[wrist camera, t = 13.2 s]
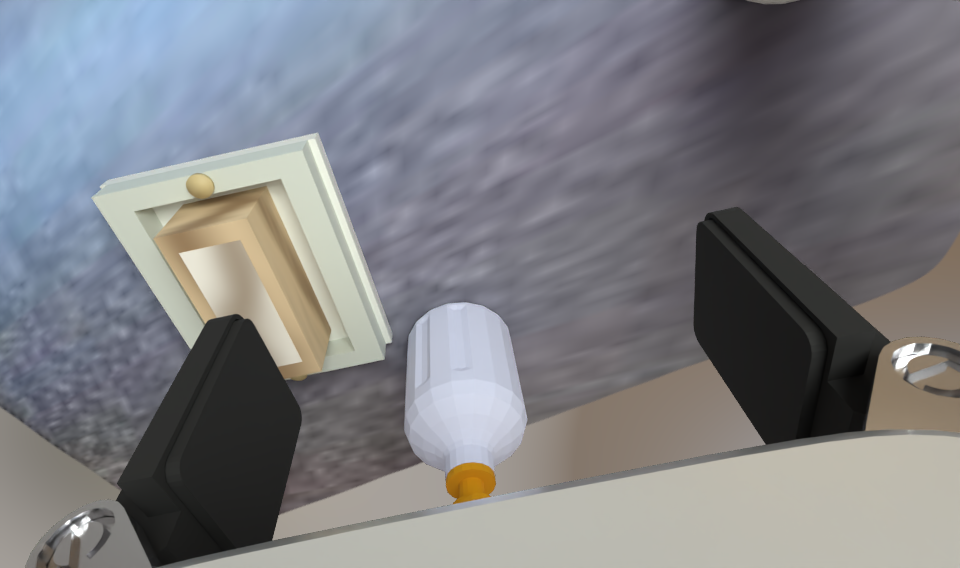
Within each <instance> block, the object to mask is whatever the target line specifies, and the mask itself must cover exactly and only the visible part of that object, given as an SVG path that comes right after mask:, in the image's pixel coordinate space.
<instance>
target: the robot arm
mask: <svg viewBox="0 0 960 568" xmlns="http://www.w3.org/2000/svg"><path fill="white" fill-rule="evenodd" d="M747 1H750V2H756V3H761V4H785V3H789V2H794V1H798V0H747ZM954 1H960V0H954ZM694 331H695V335H696V338H697V340H698V342H699V344H700V345H701V347H702V348H703V350H704V351H705V353H706V354H707V356H708V357H709V359H710V360H711V362H712V363H713V365H714V366H715V368H716V369H717V371H718V373H719V374H720V376H721V377H722V379H723V380H724V382H725V383H726V385H727V386H728V388H729V389H730V391H731V392H732V394H733V395H734V397H735V398H736V400H737V401H738V403H739V404H740V406H741V408H742V409H743V411H744V412H745V413H746V415H747V417H748V418H749V420H750V421H751V423H752V424H753V426H754V427H755V429H756V430H757V432H758V433H759V435H760V436H761V438H762V439H763V441H764V442H765V444H766V445H763V446H757V447H752V448H745V449H740V450H734V451H728V452H722V453H717V454H711V455H706V456H701V457H695V458H690V459H685V460H679V461H674V462H669V463H664V464H659V465H653V466H648V467H643V468H638V469H632V470H627V471H622V472H617V473H611V474H606V475H601V476H596V477H591V478H586V479H580V480H575V481H570V482H564V483H560V484H554V485H549V486H544V487H539V488H534V489H529V490H524V491H518V492H513V493H508V494H503V495H498V496H493V497H488V498H483V499H478V500H473V501H468V502H463V503H457V504H452V505H447V506H442V507H437V508H432V509H427V510H422V511H417V512H412V513H407V514H402V515H397V516H392V517H387V518H382V519H377V520H372V521H367V522H363V523H358V524H353V525H348V526H343V527H338V528H333V529H328V530H323V531H318V532H313V533H308V534H303V535H299V536H293V537H288V538H283V539H278V540H274V541H272V538H273V535H274V531H275V527H276V523H277V518H278V515H279V511H280V507H281V503H282V499H283V495H284V491H285V487H286V483H287V479H288V475H289V471H290V467H291V463H292V459H293V455H294V451H295V447H296V443H297V438H298V434H299V430H300V426H301V421H302V416H301V411H300V407H299V405H298V403H297V402H296V400H295V398H294V396H293V394H292V392H291V391H290V389H289V387H288V385H287V383H286V381H285V380H284V378H283V376H282V374H281V372H280V371H279V369H278V367H277V365H276V363H275V361H274V360H273V358H272V356H271V354H270V352H269V350H268V349H267V347H266V345H265V343H264V341H263V340H262V338H261V336H260V334H259V332H258V330H257V329H256V327H255V325H254V323H253V322H252V321H251V320H250V319H244V318H243V317H242V316H241V315H239V314H233V315H228V316H223V317H219V318H214V319H210V320H208V321H207V322H206V324H205V326H204V327H203V329H202V331H201V333H200V335H199V336H198V338H197V340H196V342H195V344H194V345H193V347H192V349H191V351H190V353H189V354H188V356H187V358H186V360H185V362H184V363H183V365H182V367H181V369H180V371H179V372H178V374H177V376H176V378H175V380H174V381H173V383H172V385H171V387H170V389H169V391H168V392H167V394H166V396H165V398H164V400H163V401H162V403H161V405H160V407H159V409H158V410H157V412H156V414H155V416H154V418H153V419H152V421H151V423H150V425H149V427H148V428H147V430H146V432H145V434H144V436H143V437H142V439H141V441H140V443H139V445H138V446H137V448H136V450H135V452H134V454H133V455H132V457H131V459H130V461H129V463H128V465H127V466H126V468H125V470H124V472H123V474H122V475H121V477H120V479H119V481H118V483H117V484H118V486H119V487H120V488H121V489H122V490H121V492H120V494H119V496H118V498H117V500H116V501H114V500H109V499H108V500H100V501H95V502H92V503H90V504H87V505H85V506H82V507H80V508H78V509H77V510H75V511H73V512H71V513H70V514H68V515H67V516H65V517H64V518H63V519H62V520H60V521H59V522H58V523H56V524H55V525H54V526H53V527H52V528H51V529H50V530H49V531H48V532H47V533H46V534H45V535H44V536H43V537H42V538H41V539H40V540H39V542H38V543H37V545H36V546H35V547H34V549H33V550H32V552H31V553H30V556H29V559H28V561H27V563H26V565H25V568H960V344H958V343H955V342H951V341H947V340H944V339H938V338H930V337H906V338H902V339H899V340H895V341H892V342H890V341H889V340H888V339H887V338H885V337H884V336H883V335H882V334H881V333H880V332H879V331H878V330H877V329H875V328H874V327H873V326H872V325H871V324H870V323H869V322H868V321H866V320H865V319H864V318H863V317H862V316H861V315H860V314H859V313H857V312H856V311H855V310H854V309H853V308H852V307H851V306H850V305H849V304H847V303H846V302H845V301H844V300H843V299H842V298H841V297H840V296H839V295H837V294H836V293H835V292H834V291H833V290H832V289H831V288H830V287H828V286H827V285H826V284H825V283H824V282H823V281H822V280H821V279H819V278H818V277H817V276H816V275H815V274H814V273H813V272H812V271H810V270H809V269H808V268H807V267H806V266H805V265H803V264H802V263H801V262H800V261H799V260H798V259H796V258H795V257H794V256H793V255H792V254H791V253H790V252H789V251H787V250H786V249H785V248H784V247H783V246H782V245H781V244H780V243H778V242H777V241H776V240H775V239H774V238H773V237H772V236H771V235H770V234H768V233H767V232H766V231H765V230H764V229H763V228H762V227H761V226H759V225H758V224H757V223H756V222H755V221H754V220H753V219H752V218H750V217H749V216H748V215H747V214H746V213H745V212H744V211H743V210H742V209H740V208H738V207H734V208H729V209H725V210H720V211H715V212H711V213H708V214H707V215H706V217H705V221H702V222H699V223H698V225H697V233H696V265H695V297H694Z"/></svg>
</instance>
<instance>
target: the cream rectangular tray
mask: <svg viewBox="0 0 960 568" xmlns="http://www.w3.org/2000/svg"><path fill="white" fill-rule="evenodd" d="M264 186H267V188H268V190H269V193H270V195H271V197H272V199H273V201H274V204H275V206H276V208H277V210H278V213H279V215H280V217H281V219H282V221H283V224H284V226H285V228H286V230H287V233H288V235H289V237H290V239H291V241H292V244H293V246H294V248H295V250H296V252H297V255H298V257H299V259H300V261H301V264H302V266H303V268H304V270H305V272H306V275H307V277H308V279H309V281H310V284H311V286H312V288H313V290H314V292H315V295H316V297H317V299H318V301H319V304H320V306H321V308H322V310H323V312H324V315H325V317H326V319H327V321H328V323H329V326H330V328H331V334H330V338H329V342H328V347H327V351H326V355H325V360H324V364H323V368H322V371H321V372H316V373H311V374H306V375H302V376H297V377H292V378H287V379H284V380H288V379H292V380H295V381H301V380H304V379H305V378H306V377H307V375H312V374H317V373H322V372H327V371H332V370H336V369H341V368H346V367H351V366H356V365H360V364H365V363H370V362H375V361H380V360H384V359H385V350H386V344H387V343H392V331H391V328H390V326H389V323H388V320H387V318H386V315H385V312H384V309H383V307H382V304H381V301H380V299H379V296H378V293H377V291H376V288H375V285H374V282H373V280H372V277H371V274H370V272H369V269H368V266H367V264H366V261H365V258H364V255H363V253H362V250H361V247H360V245H359V242H358V239H357V237H356V234H355V231H354V228H353V226H352V223H351V220H350V218H349V215H348V212H347V210H346V207H345V204H344V201H343V199H342V196H341V193H340V191H339V188H338V185H337V183H336V180H335V177H334V174H333V172H332V169H331V166H330V164H329V161H328V158H327V156H326V153H325V150H324V147H323V145H322V142H321V139H320V137H319V134H318V133H314V134H310V135H305V136H301V137H296V138H292V139H287V140H283V141H278V142H274V143H270V144H265V145H261V146H256V147H252V148H247V149H243V150H238V151H234V152H230V153H225V154H221V155H216V156H212V157H207V158H203V159H199V160H194V161H190V162H185V163H181V164H176V165H172V166H167V167H163V168H159V169H154V170H150V171H145V172H141V173H136V174H132V175H127V176H123V177H119V178H114V179H110V180H107V181H106V182H105V183H104V184H102V185H101V186H100V188H101V190H100V191H99V192H98V193H96V194H95V195H94V196H93V197H91V198H92V199H93V201H94V202H95V204H96V205H97V207H98V208H99V210H100V211H101V213H102V214H103V216H104V218H105V219H106V221H107V222H108V224H109V225H110V227H111V228H112V230H113V231H114V233H115V234H116V236H117V237H118V239H119V240H120V242H121V244H122V245H123V247H124V248H125V250H126V251H127V253H128V254H129V256H130V257H131V259H132V260H133V262H134V263H135V265H136V266H137V268H138V270H139V271H140V273H141V274H142V276H143V277H144V279H145V280H146V282H147V283H148V285H149V286H150V288H151V289H152V291H153V292H154V294H155V296H156V297H157V299H158V300H159V302H160V303H161V305H162V306H163V308H164V309H165V311H166V312H167V314H168V315H169V317H170V319H171V320H172V322H173V323H174V325H175V326H176V328H177V329H178V331H179V332H180V334H181V335H182V337H183V338H184V340H185V341H186V343H187V345H188V346H189V348H190V349H192V347H193V345H194V344H195V342H196V340H197V338H198V336H199V335H200V333H201V331H202V329H203V327H204V326H205V322H204V321H203V319H202V317H201V316H200V314H199V313H198V311H197V309H196V308H195V306H194V304H193V303H192V301H191V300H190V298H189V296H188V295H187V293H186V291H185V290H184V288H183V287H182V285H181V283H180V282H179V280H178V278H177V277H176V275H175V273H174V272H173V270H172V269H171V267H170V265H169V264H168V262H167V260H166V259H165V257H164V256H163V254H162V252H161V251H160V249H159V247H158V246H157V244H156V242H155V241H154V237H155V236H156V235H157V234H158V233H159V232H160V231H161V229H162V228H163V227H164V226H165V225H166V224H167V223H168V221H169V220H170V219H171V218H172V217H173V216H174V214H175V213H176V212H177V211H178V210H179V209H180V208H181V206H182V205H183V204H187V203H192V202H196V201H201V200H205V199H210V198H214V197H219V196H223V195H228V194H232V193H237V192H241V191H246V190H250V189H255V188H259V187H264Z"/></svg>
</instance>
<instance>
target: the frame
mask: <svg viewBox="0 0 960 568" xmlns="http://www.w3.org/2000/svg"><path fill="white" fill-rule="evenodd" d="M154 241H155V242H156V244H157V246H158V247H159V249H160V251H161V252H162V254H163V256H164V257H165V259H166V260H167V262H168V264H169V265H170V267H171V269H172V270H173V272H174V273H175V275H176V277H177V278H178V280H179V282H180V283H181V285H182V287H183V288H184V290H185V291H186V293H187V295H188V296H189V298H190V300H191V301H192V303H193V304H194V306H195V308H196V309H197V311H198V313H199V314H200V316H201V317H202V319H203V321H204V322H205V324H206V322H207V321H208V320H210V319H214V318H219V317H223V316H228V315H233V314H239V315H241V316H242V317H243V318H244V319H250V320H251V321H252V322H253V323H254V325H255V327H256V329H257V330H258V332H259V334H260V336H261V338H262V340H263V341H264V343H265V345H266V347H267V349H268V350H269V352H270V354H271V356H272V358H273V360H274V361H275V363H276V365H277V367H278V369H279V371H280V372H281V374H282V376H283V378H284V379H287V378H292V377H297V376H302V375H306V374H311V373H316V372H321V371H322V368H323V364H324V360H325V355H326V351H327V347H328V342H329V338H330V334H331V328H330V326H329V323H328V321H327V319H326V317H325V315H324V312H323V310H322V308H321V306H320V304H319V301H318V299H317V297H316V295H315V292H314V290H313V288H312V286H311V284H310V281H309V279H308V277H307V275H306V272H305V270H304V268H303V266H302V264H301V261H300V259H299V257H298V255H297V252H296V250H295V248H294V246H293V244H292V241H291V239H290V237H289V235H288V233H287V230H286V228H285V226H284V224H283V221H282V219H281V217H280V215H279V213H278V210H277V208H276V206H275V204H274V201H273V199H272V197H271V195H270V193H269V190H268V188H267V186H264V187H259V188H255V189H250V190H246V191H241V192H237V193H232V194H228V195H223V196H219V197H214V198H210V199H205V200H201V201H196V202H192V203H187V204H183V205H182V206H181V208H180V209H179V210H178V211H177V212H176V213H175V214H174V216H173V217H172V218H171V219H170V220H169V221H168V223H167V224H166V225H165V226H164V227H163V228H162V229H161V231H160V232H159V233H158V234H157V235H156V236H155V237H154Z"/></svg>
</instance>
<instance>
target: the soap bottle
mask: <svg viewBox="0 0 960 568" xmlns="http://www.w3.org/2000/svg"><path fill="white" fill-rule="evenodd" d="M526 423H527V415H526V410H525V405H524V400H523V395H522V391H521V386H520V381H519V376H518V371H517V367H516V362H515V357H514V352H513V347H512V343H511V338H510V334H509V330H508V327H507V325H506V324H505V323H504V322H503V320H502V319H501V318H500V317H499V315H498V314H496V313H494V312H493V311H491V310H489V309H488V308H486V307H484V306H482V305H477V304H472V303H468V302H460V303H447V304H445V305H442V306H439V307H437V308H434V309H432V310H430V311H429V312H427V313H426V314H425V315H424V316H422V317H421V318H420V319H419V320H417V322H416V323H415V325H414V327H413V329H412V330H411V332H410V334H409V337H408V349H407V373H406V397H405V421H404V431H405V434H406V436H407V438H408V441H409V443H410V445H411V447H412V450H413V452H414V454H415V455H417V456H418V457H419V458H420V459H421V460H422V461H423V462H424V463H425V464H427V465H430V466H433V467H435V468H437V469H439V470H442V471H445V478H446V488H447V491H448V493H449V494H450V495H451V496H452V497H454V498H457V500H456V501H455V502H454V503H453V504H457V503H463V502H468V501H473V500H478V499H483V498H488V497H491V496H489V494H490V493H491V492H492V491H493V490H494V487H495V485H496V481H495V469H494V467H495V466H497V465H498V464H500V463H501V462H503V461H504V460H506V459H507V458H509V457H510V456H512V454H513V453H514V452H515V451H516V449H517V448H518V447H519V446H520V444H521V442H522V438H523V435H524V431H525V427H526Z"/></svg>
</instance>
